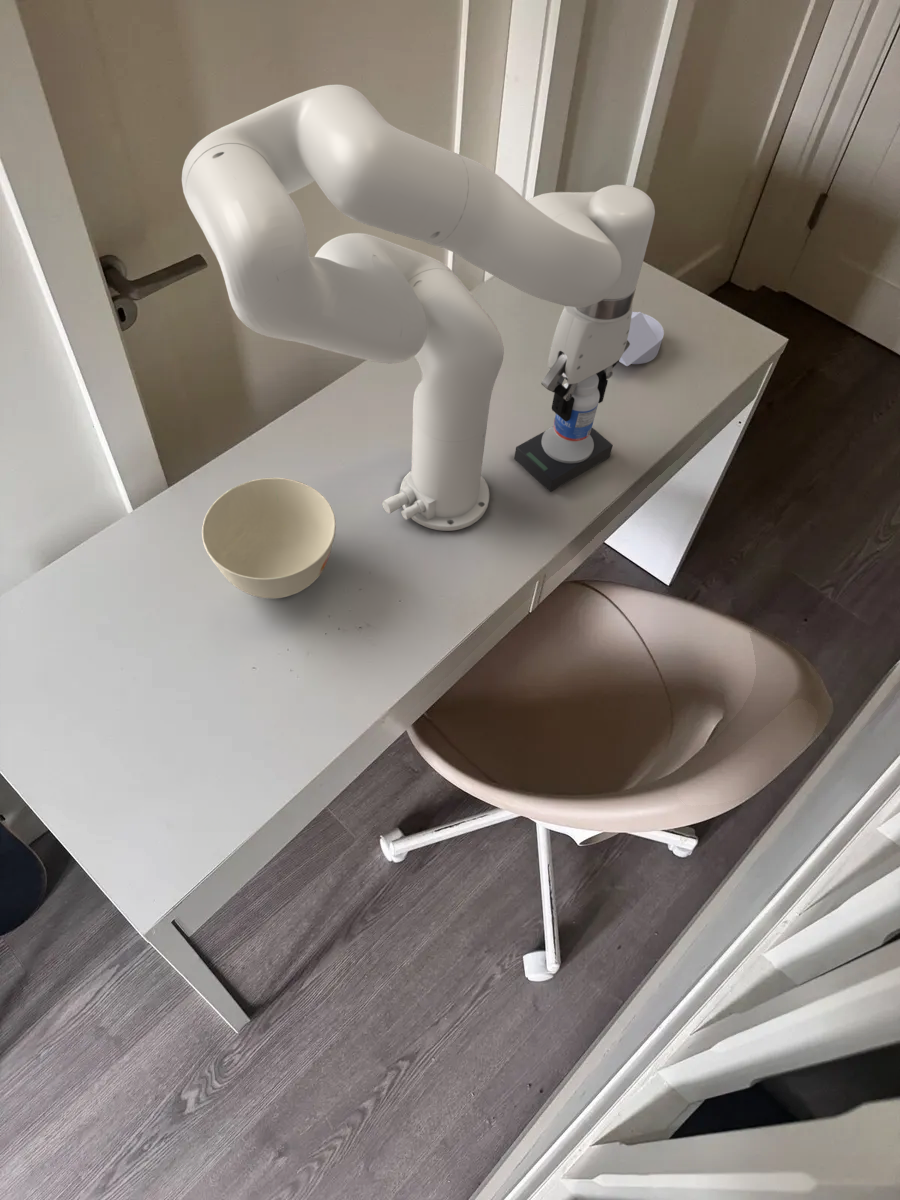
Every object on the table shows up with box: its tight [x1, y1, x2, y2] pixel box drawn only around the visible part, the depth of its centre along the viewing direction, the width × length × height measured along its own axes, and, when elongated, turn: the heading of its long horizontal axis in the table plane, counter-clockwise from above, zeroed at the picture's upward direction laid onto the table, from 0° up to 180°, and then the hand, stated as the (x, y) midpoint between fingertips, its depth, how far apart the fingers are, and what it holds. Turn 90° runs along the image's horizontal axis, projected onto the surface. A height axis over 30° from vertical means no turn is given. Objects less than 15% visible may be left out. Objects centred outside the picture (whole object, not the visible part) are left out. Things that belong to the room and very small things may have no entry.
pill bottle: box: [553, 374, 600, 442], centre depth 119 cm, size 6×5×10 cm
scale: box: [513, 425, 614, 493], centre depth 126 cm, size 12×8×3 cm, turn 128°
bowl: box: [201, 477, 337, 599], centre depth 108 cm, size 16×16×10 cm
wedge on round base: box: [618, 311, 665, 367], centre depth 139 cm, size 9×7×13 cm
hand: (577, 405), depth 119 cm, fingers closed on pill bottle, 5 cm apart
